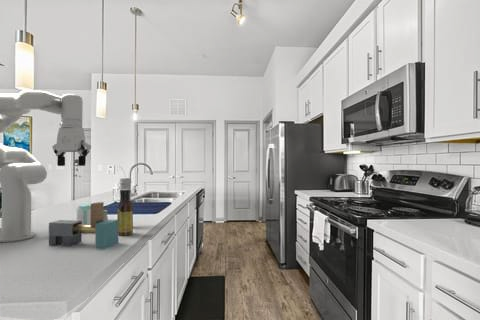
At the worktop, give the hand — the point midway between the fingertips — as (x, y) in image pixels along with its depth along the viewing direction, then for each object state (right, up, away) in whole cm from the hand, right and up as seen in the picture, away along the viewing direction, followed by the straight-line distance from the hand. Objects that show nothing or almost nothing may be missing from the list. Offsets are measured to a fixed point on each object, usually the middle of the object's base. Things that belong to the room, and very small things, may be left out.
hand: (71, 165), depth 110 cm
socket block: (+20, -30, -10) cm, 37 cm away
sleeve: (+2, -30, -7) cm, 31 cm away
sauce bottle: (+19, -31, +6) cm, 37 cm away
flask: (+8, -31, +10) cm, 33 cm away
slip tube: (+13, -26, -9) cm, 30 cm away
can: (-2, -31, +13) cm, 33 cm away
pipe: (+13, -31, +19) cm, 39 cm away
